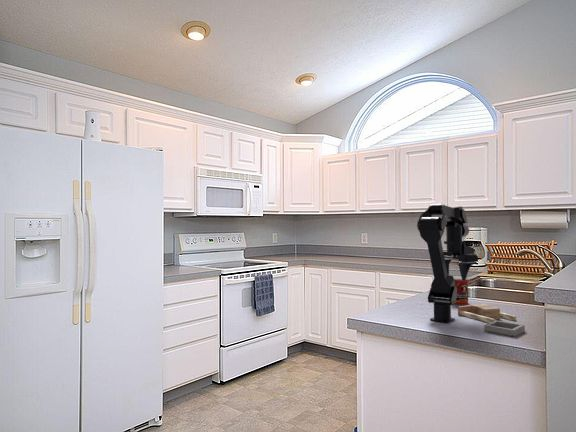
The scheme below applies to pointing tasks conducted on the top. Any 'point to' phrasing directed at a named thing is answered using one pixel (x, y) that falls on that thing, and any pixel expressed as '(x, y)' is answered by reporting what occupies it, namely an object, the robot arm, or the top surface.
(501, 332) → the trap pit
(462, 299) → the canned food
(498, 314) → the light brown wooden block
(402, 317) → the top surface
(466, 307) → the wooden lane
